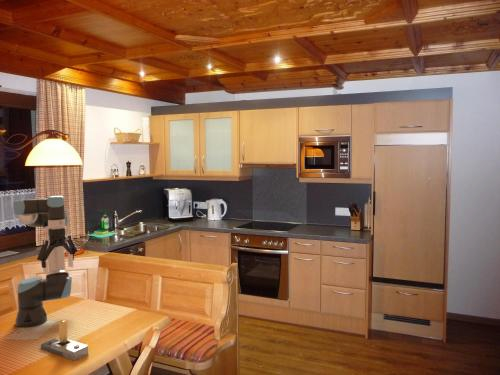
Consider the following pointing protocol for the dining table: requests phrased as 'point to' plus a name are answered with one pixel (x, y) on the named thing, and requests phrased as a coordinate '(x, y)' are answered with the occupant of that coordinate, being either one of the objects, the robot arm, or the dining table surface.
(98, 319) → the dining table surface
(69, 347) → the riveted square sleeve
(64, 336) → the brass pin
